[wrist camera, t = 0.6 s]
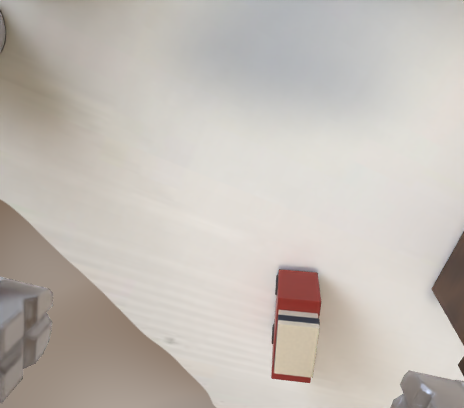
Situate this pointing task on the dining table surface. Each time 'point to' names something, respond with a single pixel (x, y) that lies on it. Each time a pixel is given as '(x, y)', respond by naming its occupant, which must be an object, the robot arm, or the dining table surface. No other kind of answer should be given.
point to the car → (295, 325)
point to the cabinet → (453, 291)
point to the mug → (2, 32)
